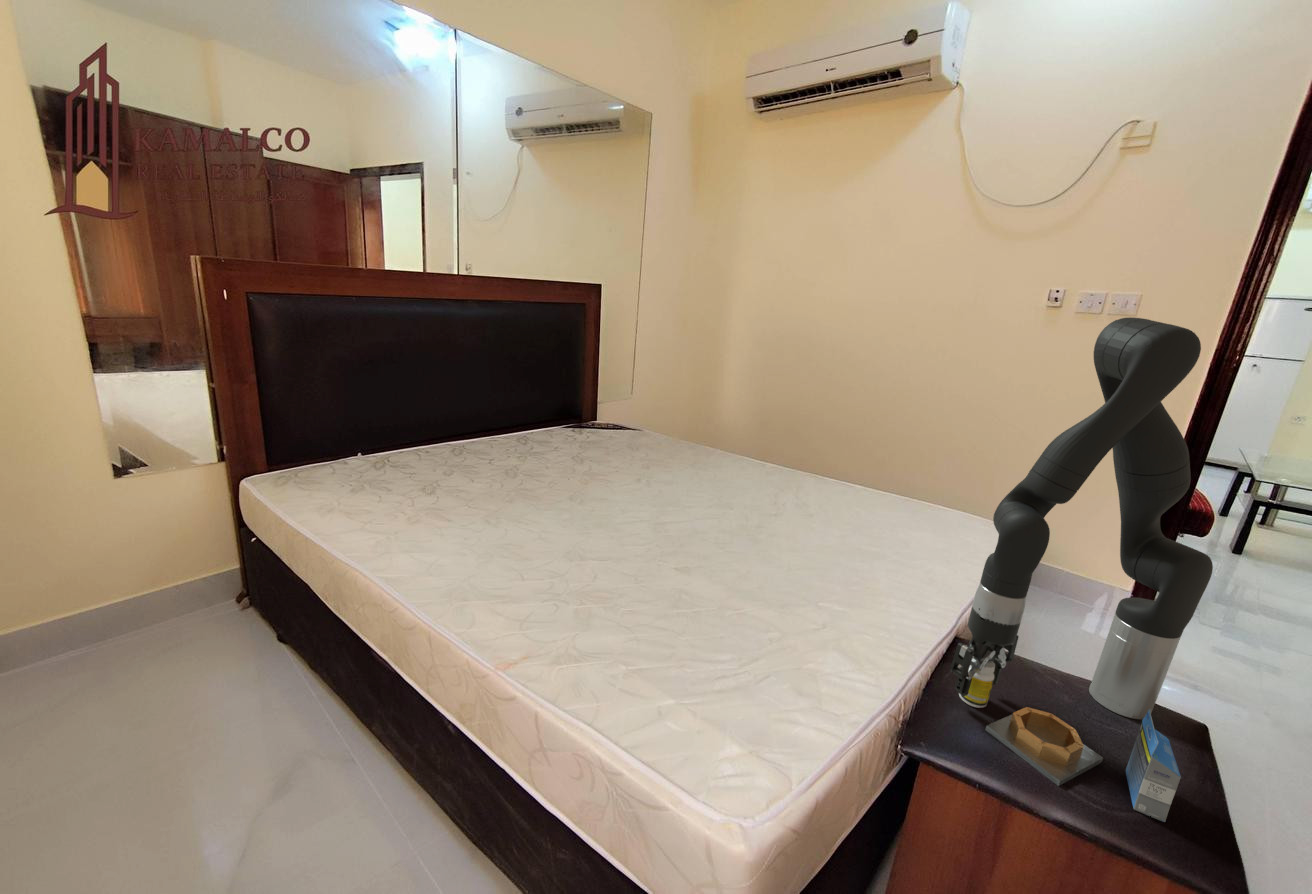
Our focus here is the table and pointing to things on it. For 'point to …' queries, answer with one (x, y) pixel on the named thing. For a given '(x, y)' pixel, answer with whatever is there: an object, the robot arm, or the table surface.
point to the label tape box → (1152, 772)
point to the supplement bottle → (980, 686)
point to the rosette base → (1042, 764)
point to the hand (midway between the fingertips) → (975, 687)
